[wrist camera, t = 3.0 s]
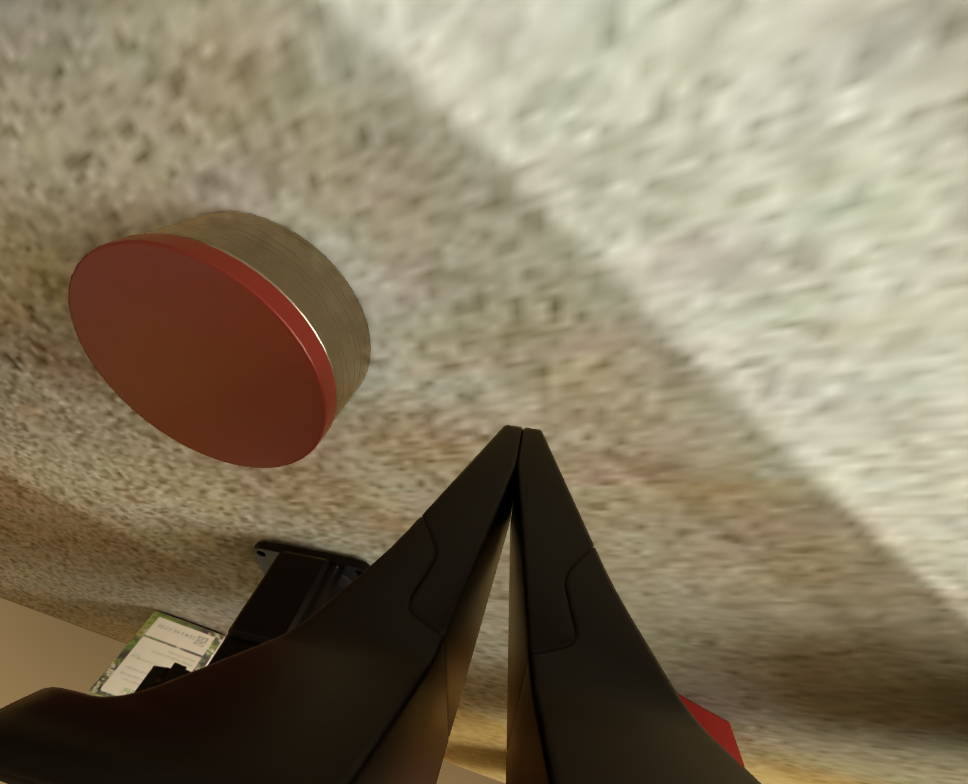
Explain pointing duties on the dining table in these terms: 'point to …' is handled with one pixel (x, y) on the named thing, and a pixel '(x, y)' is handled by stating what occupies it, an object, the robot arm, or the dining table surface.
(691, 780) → the robot arm
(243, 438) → the tin
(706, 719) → the french fries
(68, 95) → the dining table surface
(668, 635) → the dining table surface
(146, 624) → the syrup box
